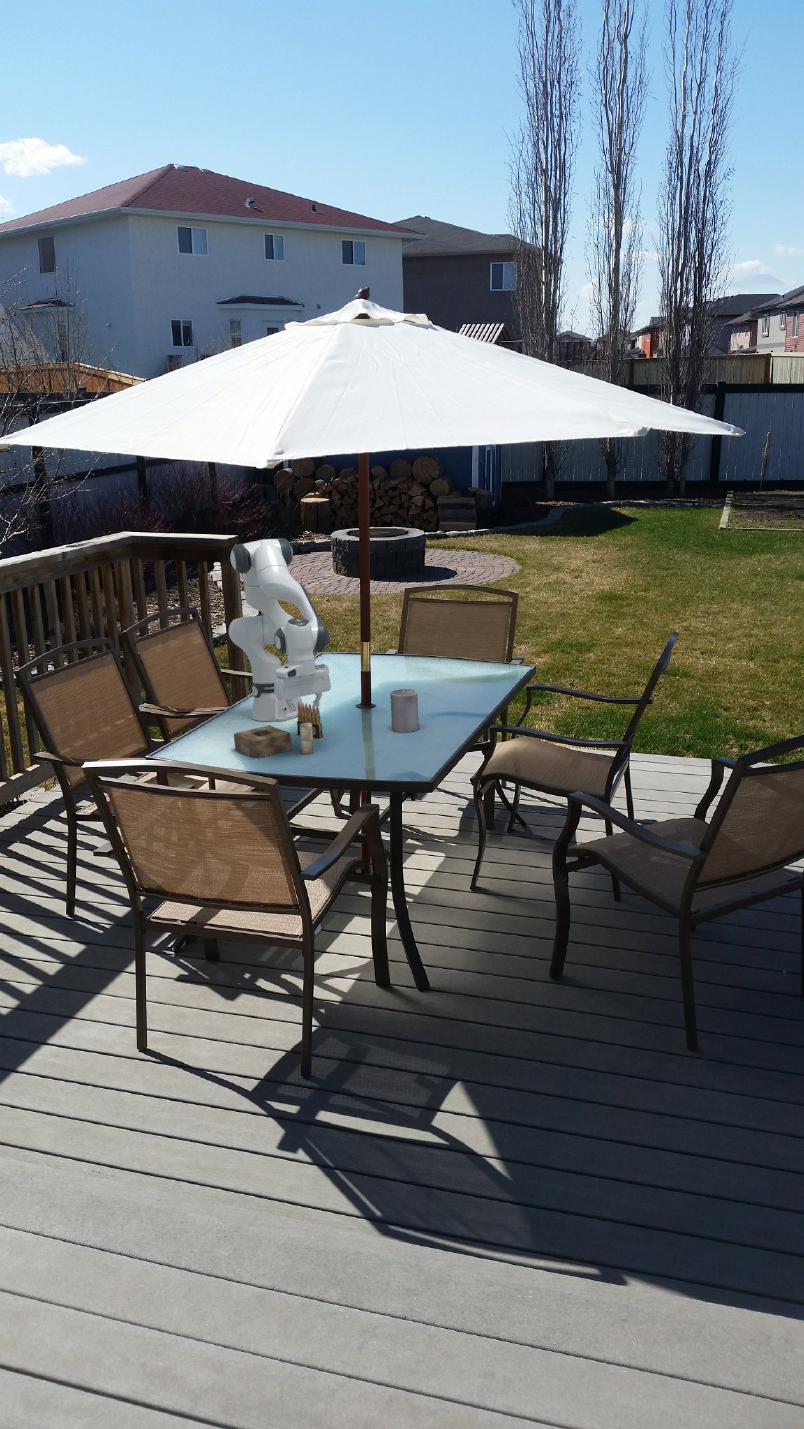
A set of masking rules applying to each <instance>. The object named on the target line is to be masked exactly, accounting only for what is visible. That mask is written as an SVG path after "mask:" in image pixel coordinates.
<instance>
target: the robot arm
mask: <svg viewBox="0 0 804 1429" xmlns="http://www.w3.org/2000/svg"><path fill="white" fill-rule="evenodd" d="M293 551H294V550H293V548H292V545H291V543H290V542H289V541H288V540H287V539H286V538H283V537H282V538H281V537H280V538H279V537H277V538H267V539H266V538H265V539H258V540H256V541H255V540H254V541H249V542H245V543H239V544H236V545H234V546H233V547H232V549H231V552H230V563H231V565H232V568H233V570H234V571H235V572H236V573H238V574H243V586H244V595H245V601H246V604H247V605H248V606H249V607H251V608H252V609H255V610H257V611H259V612H261V614H262V615H252V616H249V615H248V616H242V617H238V618H234V619H233V620H232V621H231V622H230V624H229V628H228V635H229V638H230V640H231V642H232V643H233V644H234V645H235V646H237V647H239V648H240V649H241V650H242V651H243V652H244V653H245V655H246V656H247V658H248V660H249V662H250V669H251V676H252V681H251V688H252V689H251V691H252V697H253V701H252V702H253V704H252V705H253V706H252V713H251V719H252V720H254V721H259V722H272V721H273V722H276V721H277V722H283V721H287V720H290V719H294V718H297V717H298V715H297V713H298V702H299V703H300V705H302V703H303V704H304V702H303V700H302V697H307V696H310V695H315V699H314V700H313V701H312V703H313V704H312V706H315V708H316V707H317V706H318V707H320V706H321V704H320V701H321V699H322V696H323V693H325V692H329V691H330V690H331V688H332V683H331V682H332V681H331V677H330V670H329V669H330V668H329V666H328V665H326V664H324V663H322V664H316V660H315V655H314V653H323V652H324V650H326V649H327V647H328V646H329V644H330V641H331V639H330V632H329V630H328V628H327V626H326V624H325V623H324V622H323V621H322V619H321V617H320V615H319V613H318V611H317V609H316V607H315V605H314V603H313V602H312V599H311V596H310V595H309V593H308V591H307V590H306V588H305V586H304V585H303V584H302V583H300V582H298V581H297V580H296V579H295V578H294V577H293V576H292V574H291V573H290V571H289V568H288V567H289V566H290V565H291V563H292V562H293V557H294V556H293V555H294V554H293ZM279 601H281V602H286V603H289V604H292V605H294V606H295V607H297V608H298V609H299V611H300V613H301V616H302V617H294V616H292V615H290V614H289V613H288V612H286V610H284V609H283V608H282V607H281V605H280V603H279ZM265 645H267V646H268V645H270V646H271V645H274V647H275V650H276V651H278V653H280V654H282V655H285V656H286V655H287V662H286V663H285V664H283V665H282V661H281V659H280V658H279V657H278V656H277V655H275V654H274V653H271V652H269V651H266V650H265V648H264V646H265ZM304 708H305V706H304ZM308 712H309V711H308ZM296 716H297V717H296Z"/></svg>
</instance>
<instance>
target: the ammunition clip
mask: <svg viewBox="0 0 804 1429" xmlns="http://www.w3.org/2000/svg"><path fill="white" fill-rule="evenodd" d="M304 707H305V708H304ZM319 707H320V706H317V707H315V706H313V705H311V703H309V704H308V703H307V702H305V704H304V702H303V703H302V705H300V703H299V702H298V713H297V715H298V716H297V721H296V726H297V735H298V736H301V734H300V724H302V723H312V733H313V739H319V740H320V739H322V738H324V734H323V723H321V721H322V720H321V715H320V714H321V713H320V708H319ZM308 711H309V712H308Z"/></svg>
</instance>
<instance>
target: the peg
mask: <svg viewBox="0 0 804 1429" xmlns="http://www.w3.org/2000/svg"><path fill="white" fill-rule="evenodd" d="M300 734H301V735H300V745H301V748H300V749H301V755H304V756H305V755H306V756H307V755H309V756H310V755H313V754H314V753H315V750H314V738H313V733H312V723H302V724H300Z"/></svg>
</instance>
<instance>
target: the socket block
mask: <svg viewBox="0 0 804 1429" xmlns="http://www.w3.org/2000/svg"><path fill="white" fill-rule="evenodd" d="M291 736H292V734H291V732H288V731H286V730H283V729H281V728H277V727H274V726H272V725H269V724H268V725H265V726H261V727H256V728H251V729H247V730H243V731H239V732H235V733H233V738H234V739H233V740H234V741H233V742H234V748H235V749H234V750H235V751H236V752H238V751H239V753H241V754H243V753H244V755H246V756H248V755H249V757H250V758H253V759H255V758H257V759H260V758H259V757H261V758H263V757H262V756H265V755H269V756H271V755H270V754H273V755H276V754H275V753H277V754H280V753H285V752H289V751H292V750H293V749H292V738H291ZM265 757H266V756H265Z"/></svg>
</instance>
